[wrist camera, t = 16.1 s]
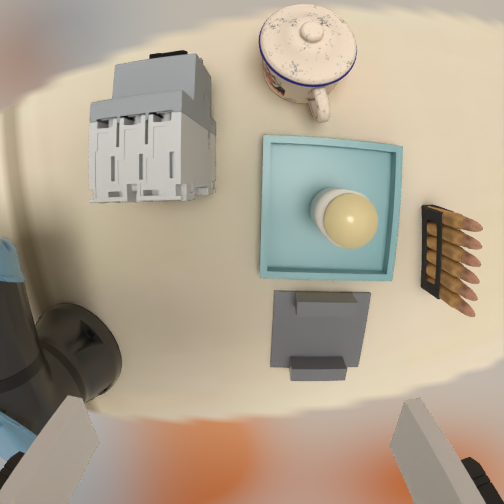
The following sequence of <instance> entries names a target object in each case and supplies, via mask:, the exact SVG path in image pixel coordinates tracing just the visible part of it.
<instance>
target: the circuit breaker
mask: <svg viewBox="0 0 504 504" xmlns="http://www.w3.org/2000/svg"><path fill="white" fill-rule="evenodd" d="M187 53H188V52H187V51H184V50H181V51H175V52H168V53H157V54H150V57H149V59H147V60H140V61H134V62H129V63H123V64H118V65H115V72H114V83H113V96H112V99H108V100H103V101H97V102H92V103H91V106H90V124H89V189H93V198H94V199H90V203H109V202H117V203H123V202H157V201H168V200H178V201H190V200H193V199H195V195H207V194H211V193H213V192H216V188H213V181H216V122H215V121H214V120H213V119H212V118H211V117H210V103H211V76H210V75H209V73H208V72H207V70H206V68H205V67H204V65H203V60H202V58H199V57H198V56H197V54H187Z"/></svg>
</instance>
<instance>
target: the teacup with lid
mask: <svg viewBox="0 0 504 504" xmlns="http://www.w3.org/2000/svg"><path fill="white" fill-rule="evenodd" d="M259 48H260V52H261V55H262V58H263V72H264V77H265V79H266V82H267V83H268V85H269V87H270V88H271V89H272V90H273V91H274V92H275V93H276V94H277V95H279V96H280V97H282V98H284V99H286V100H288V101H291V102H295V103H308V104H309V107H310V110H311V113H312V115H313V117H314V119H315V120H316V121H317V122H319V123H323V122H327V121H328V120H329V118H330V105H329V100H328V96H327V95H328V94H329V93H330V92H331V91H332V89H333V88H334V87H335V85H336V84H337V83H338V81H339V80H341V79H342V78H343V77H345V76H346V75H347V74H348V73H349V71H350V70H351V69H352V67H353V65H354V63H355V60H356V55H357V46H356V41H355V37H354V35H353V33H352V31H351V29H350V27H349V26H348V25H347V23H346V22H345V21H344V20H343V19H342V18H341V17H339V16H338V15H337V14H335V13H334V12H332V11H330V10H328V9H326V8H323V7H320V6H317V5H311V4H296V5H291V6H287V7H284V8H282V9H280V10H278V11H276V12H275V13H274V14H272V15H271V16H270V17H269V18H268V19H267V20H266V22H265V23H264V25H263V27H262V29H261V31H260V35H259Z"/></svg>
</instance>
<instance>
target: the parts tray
mask: <svg viewBox="0 0 504 504" xmlns="http://www.w3.org/2000/svg"><path fill="white" fill-rule="evenodd" d="M402 156H403V146H396V145H389V144H381V143H373V142H364V141H354V140H344V139H332V138H319V137H303V136H282V135H263V174H262V213H261V248H260V278H275V279H308V280H352V281H392V278H393V270H394V263H395V255H396V246H397V237H398V227H399V215H400V201H401V184H402ZM330 187H334V188H340V189H345V190H350V191H355V192H358V193H361V194H362V195H364V196H365V197H366V198H367V199H368V200H369V201H370V202H371V203H372V204H373V205H374V207H375V209H376V212H377V215H378V227H377V230H376V233H375V235H374V236H373V238H372V239H371V240H370V241H369V242H368V243H367V244H365V245H364V246H362V247H359V248H355V249H347V248H343V247H339V246H336V245H335V244H333V243H332V242H330V241H329V240H328V239H327V237H326V236H325V235H324V234H323V233H322V232H321V231H320V230H319V229H318V228H317V226H316V225H315V224H314V223H313V221H312V219H311V216H310V205H311V202H312V200H313V198H314V196H315V195H316V194H317V193H318V192H319V191H321V190H323V189H325V188H330Z"/></svg>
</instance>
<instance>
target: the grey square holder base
mask: <svg viewBox="0 0 504 504" xmlns="http://www.w3.org/2000/svg"><path fill="white" fill-rule="evenodd" d="M370 296H371V293H370V292H309V291H275V292H274V312H273V331H272V349H271V367H285V368H289V369H290V381H337V380H345V377H346V372H347V367H358V364H359V359H360V354H361V349H362V344H363V338H364V333H365V327H366V321H367V315H368V309H369V302H370Z"/></svg>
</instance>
